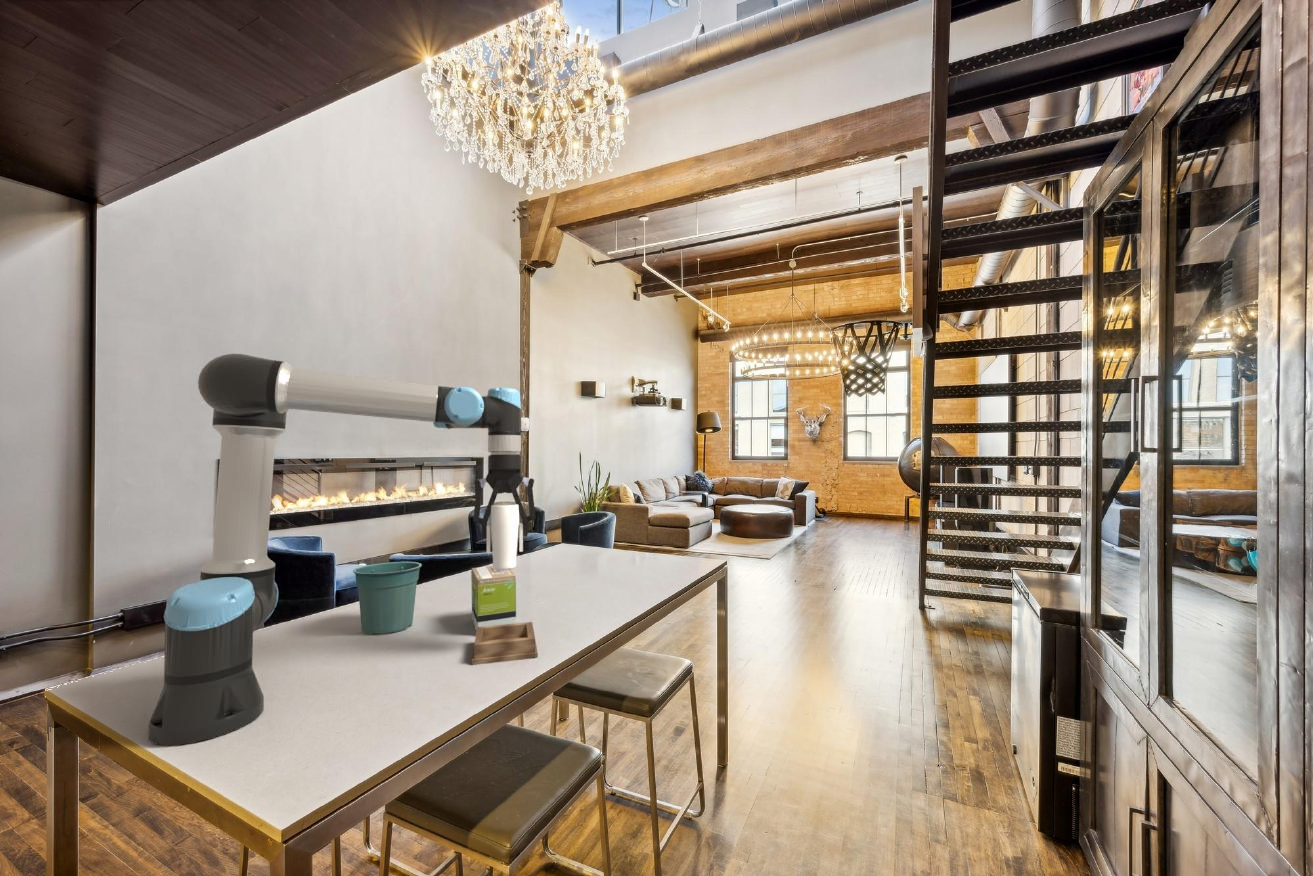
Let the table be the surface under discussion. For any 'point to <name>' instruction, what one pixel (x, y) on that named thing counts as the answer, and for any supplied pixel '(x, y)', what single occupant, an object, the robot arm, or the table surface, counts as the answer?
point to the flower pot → (387, 595)
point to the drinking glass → (504, 535)
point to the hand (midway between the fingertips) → (504, 551)
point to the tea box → (493, 597)
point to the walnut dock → (504, 643)
